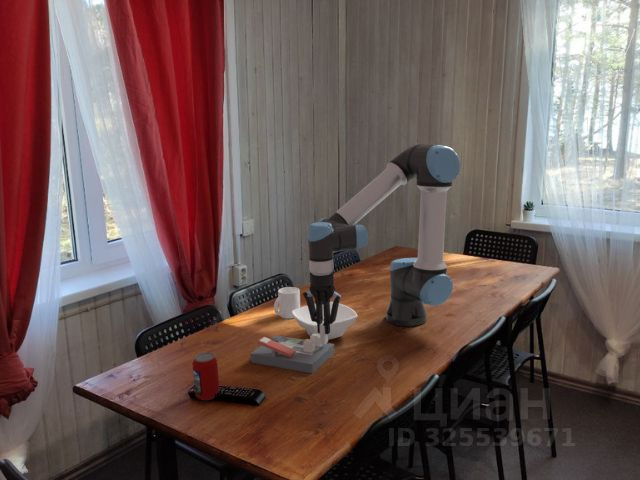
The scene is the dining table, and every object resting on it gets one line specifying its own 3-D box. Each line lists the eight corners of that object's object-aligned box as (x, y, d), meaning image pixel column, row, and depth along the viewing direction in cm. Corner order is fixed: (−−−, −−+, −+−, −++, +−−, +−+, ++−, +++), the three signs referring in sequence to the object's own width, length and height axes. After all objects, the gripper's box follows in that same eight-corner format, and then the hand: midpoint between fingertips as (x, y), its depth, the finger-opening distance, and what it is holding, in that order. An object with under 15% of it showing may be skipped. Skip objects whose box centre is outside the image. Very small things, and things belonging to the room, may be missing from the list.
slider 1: (315, 349, 180) (314, 339, 179) (311, 352, 178) (311, 342, 177) (306, 348, 181) (306, 338, 180) (303, 351, 179) (302, 341, 178)
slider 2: (322, 343, 184) (321, 334, 184) (318, 346, 182) (318, 336, 181) (313, 342, 186) (313, 332, 185) (310, 345, 184) (310, 335, 183)
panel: (334, 352, 185) (333, 339, 184) (312, 373, 171) (312, 359, 170) (275, 343, 195) (275, 331, 194) (250, 362, 181) (249, 349, 180)
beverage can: (197, 391, 163) (193, 352, 160) (220, 389, 164) (217, 350, 161) (194, 402, 156) (190, 362, 154) (218, 401, 157) (215, 360, 154)
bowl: (312, 352, 186) (310, 328, 184) (286, 332, 204) (284, 310, 202) (365, 339, 195) (365, 315, 193) (336, 321, 213) (335, 299, 211)
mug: (282, 323, 212) (281, 297, 210) (267, 318, 218) (266, 293, 216) (305, 314, 221) (303, 289, 219) (290, 310, 226) (289, 285, 224)
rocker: (295, 352, 178) (296, 349, 178) (290, 357, 175) (290, 354, 175) (262, 339, 182) (263, 336, 182) (257, 343, 179) (257, 340, 179)
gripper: (345, 270, 178) (347, 341, 183) (308, 267, 183) (311, 335, 188) (335, 277, 171) (338, 350, 176) (297, 273, 177) (300, 344, 182)
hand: (324, 342), depth 182 cm, fingers closed
